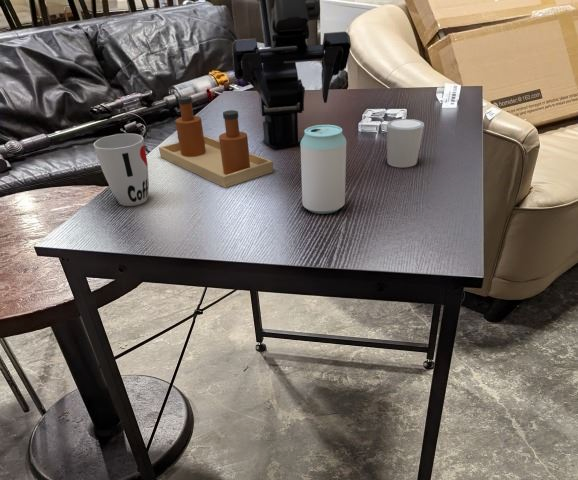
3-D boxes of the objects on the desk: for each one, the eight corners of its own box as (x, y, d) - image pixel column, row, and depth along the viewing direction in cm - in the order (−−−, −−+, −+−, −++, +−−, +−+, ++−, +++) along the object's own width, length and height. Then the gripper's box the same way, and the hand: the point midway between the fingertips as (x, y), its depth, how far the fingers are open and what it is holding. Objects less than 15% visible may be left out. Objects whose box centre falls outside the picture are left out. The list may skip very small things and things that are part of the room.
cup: (133, 212, 89) (117, 151, 82) (100, 204, 93) (82, 145, 86) (165, 195, 94) (153, 136, 88) (133, 188, 98) (119, 131, 91)
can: (300, 215, 85) (297, 137, 77) (304, 198, 90) (302, 123, 82) (344, 215, 84) (346, 136, 76) (345, 198, 89) (347, 122, 82)
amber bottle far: (201, 147, 113) (192, 93, 106) (209, 153, 109) (201, 98, 102) (177, 151, 111) (168, 97, 104) (185, 158, 107) (175, 102, 100)
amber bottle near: (244, 164, 103) (238, 106, 96) (254, 172, 99) (249, 113, 92) (219, 170, 101) (211, 111, 94) (229, 178, 98) (222, 118, 91)
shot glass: (398, 154, 105) (401, 116, 100) (427, 161, 101) (432, 122, 96) (376, 163, 101) (379, 124, 97) (406, 171, 98) (409, 131, 93)
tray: (160, 157, 110) (158, 147, 109) (205, 144, 115) (204, 134, 114) (225, 188, 96) (223, 177, 94) (273, 171, 101) (272, 161, 99)
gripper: (224, -25, 77) (236, 72, 75) (349, -34, 78) (364, 62, 77) (229, 34, 88) (240, 120, 86) (338, 25, 89) (351, 110, 88)
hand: (297, 103), depth 84 cm, fingers open, 9 cm apart
